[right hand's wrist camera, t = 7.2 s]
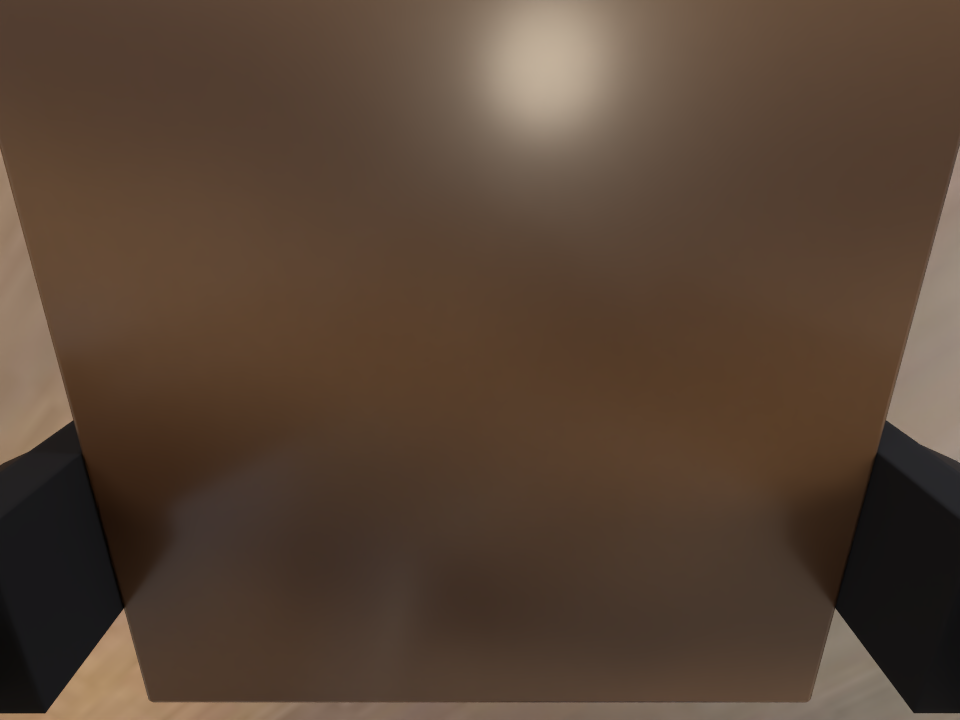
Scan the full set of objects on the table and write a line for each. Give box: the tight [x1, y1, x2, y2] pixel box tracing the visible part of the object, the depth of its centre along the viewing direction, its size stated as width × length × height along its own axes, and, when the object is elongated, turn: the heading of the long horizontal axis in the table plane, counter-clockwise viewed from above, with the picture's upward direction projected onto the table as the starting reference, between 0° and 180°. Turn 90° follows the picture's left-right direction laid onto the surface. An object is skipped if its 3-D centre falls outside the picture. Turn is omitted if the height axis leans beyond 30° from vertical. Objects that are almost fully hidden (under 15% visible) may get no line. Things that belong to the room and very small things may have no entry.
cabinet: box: [0, 0, 960, 702], centre depth 10 cm, size 18×11×8 cm, turn 0°
